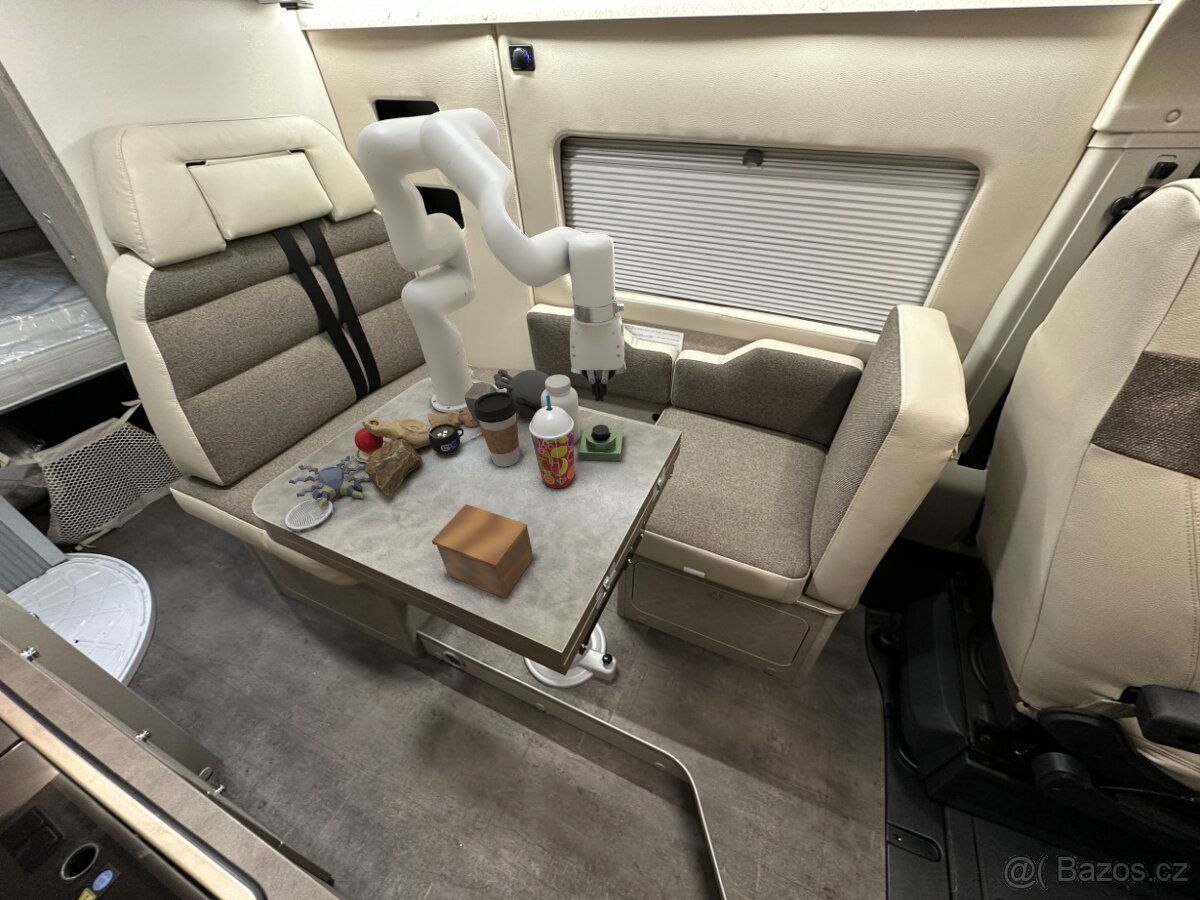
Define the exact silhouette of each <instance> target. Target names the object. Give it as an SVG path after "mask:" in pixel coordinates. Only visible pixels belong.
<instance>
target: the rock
mask: <svg viewBox="0 0 1200 900" xmlns="http://www.w3.org/2000/svg"><path fill="white" fill-rule="evenodd" d="M422 463H423V457H422V455H421V454H420V455H419V453H418V452H417V451H416V449H414V448H413V447H412V446H410V445H409V444H408V443H407V442H406V441H405V440H404V439H400V440H396V439H390V440H388V442H386V443H385V444H384V445H383V446H382V447H381V448H379V449H377V450H376V451H374V452H373V453H372V454H371V455H370V456H369V457H368V460H367V461H366V462H365V464H366V465H367V466H366V468H365V469H364V473H365V474H367V476H368V478H369V477H370V479H371V480H370V481H371V483H372V484H373V486H374V488H375V489H376V490H378V491H379V492H380V493H381V494H382V495H384V496H387V497H392V495H393V493H394V491H395V490H396V489H398V488H399V487H400V486H401V485H402V483H403V480H404V479H405V478H407V476H408V475H409V473H410V472H412V471H414V470H415V469H416V468H418V467H420V465H421V464H422Z"/></svg>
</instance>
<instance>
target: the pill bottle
mask: <svg viewBox="0 0 1200 900" xmlns="http://www.w3.org/2000/svg"><path fill="white" fill-rule="evenodd" d="M545 388H546V389H545V390H544V391H543V393H542V395H541V405H542V408H543V407H545V406H547V400H546V396H547V395H549V396H550V403H551V406H557V407H560V408H562V409H563V410H565V411H566V412H567V413H568V415H569V416H570V417H571V418H572V419H573V421H574V427H573V428H574V445H575V444H576V443H577V442H578V441H579V440H580V439H581V423H580V407H579V396H578V395H579V394H578V393H577V391H576V390H575V388H574V387H572V385H571V379H570V377H569V376H566V375H565V374H553V375H549V377H548V378H547V379H546V381H545Z"/></svg>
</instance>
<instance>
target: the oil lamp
mask: <svg viewBox="0 0 1200 900" xmlns="http://www.w3.org/2000/svg"><path fill="white" fill-rule="evenodd" d="M361 423H362V426H363V428H365V429H366V430H367V431H369V432H370V433H372V434H374V435H375V436H377V437H383V438H384V439H385V438H386V439H390V440H392V439H396V440H400V439H404V440H405V441H406V442H407V443H408V444H409V445H410V446H412V447H413V448H414V449H415V450H418V449H421V448H422V447H427V446H429V445H431V444H430V441H429V433H428V432H430V431H431V429H432V427H431V426H429V425H428V424H427V423H425V422H424V421H422V420H418V419H415V418H405V419H400V418H395V419H393V420H392V421H391V420H390V421H388V420H382V419H379V418H378V417H376V416H373V417H367V418H365V419H363V420H362V421H361ZM426 430H427V431H428V432H427V431H426Z"/></svg>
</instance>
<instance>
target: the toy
mask: <svg viewBox="0 0 1200 900" xmlns="http://www.w3.org/2000/svg"><path fill="white" fill-rule="evenodd" d="M350 460H351V455H346V456H345V458H341V459H340V463H336V466H328V467H324V468H322V469H321V470H319V468H318V467H315V468H313V467H312V466H311V465H307V466H304V465H303V464H301V465H298V468H299V469H300V471H304V470H307V471H308V472H309V473H312V472H314V476H315V477H313V476H312V475H309V476H306V477H300V476H298V477H297V478H296V479H295V480H293V479H289V481H288V483H289V484H294V485H296V484H297V483H298V482H302V483H307V482H308V481H311V482H316V481H318V482H319V484H318V485H316V484H312V485H311V487H309V488H302V491H301V493H299V492H298V493H296V497H297V498H299V497H305V495H306V493H312V494H311V495H312V496H311V497H312V498H313V499H315V500H316V501H317V499H318V498H322V500H321V501H319V502H318V503H319V505H318V506H319V507H320V508H322V507H324V506H325V505H327V504H328V500H330V501H331V499H332V498H336V499H340V498H341V497H342V496H343V495H346V496H351V498H355V499H364V495H363V493H362V492H360V491H361V490H362V485H361V483H360V482H361V481H362V480H363V481H364V482H366V483H367V482H370V481H371V479H370V477H369V476H368V477H365V476H364V475H362V476H360V477H356V476H350V478H347V477H345V475H350V473H351V472H357V471H358V470H359V469H362V470H365V468H366V466H367V465H366V463H365V464H363V465H359V464H357V465H356V466H354V467H348V468H347V469H346V470H343V469H344V468H343V466H345V465H346V462H349V461H350ZM358 490H359V491H358Z"/></svg>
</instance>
